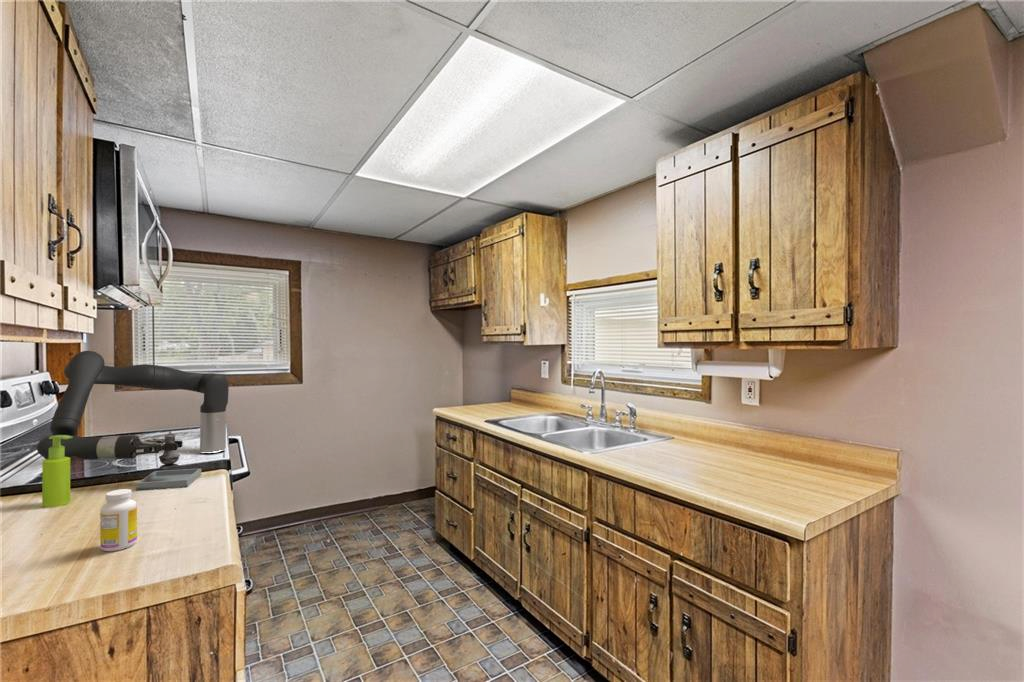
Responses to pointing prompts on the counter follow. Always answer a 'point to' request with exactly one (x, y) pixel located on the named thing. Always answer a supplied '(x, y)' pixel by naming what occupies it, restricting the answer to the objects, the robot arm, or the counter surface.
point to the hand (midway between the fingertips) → (179, 445)
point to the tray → (168, 479)
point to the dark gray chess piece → (169, 454)
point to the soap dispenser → (56, 475)
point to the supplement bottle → (118, 521)
